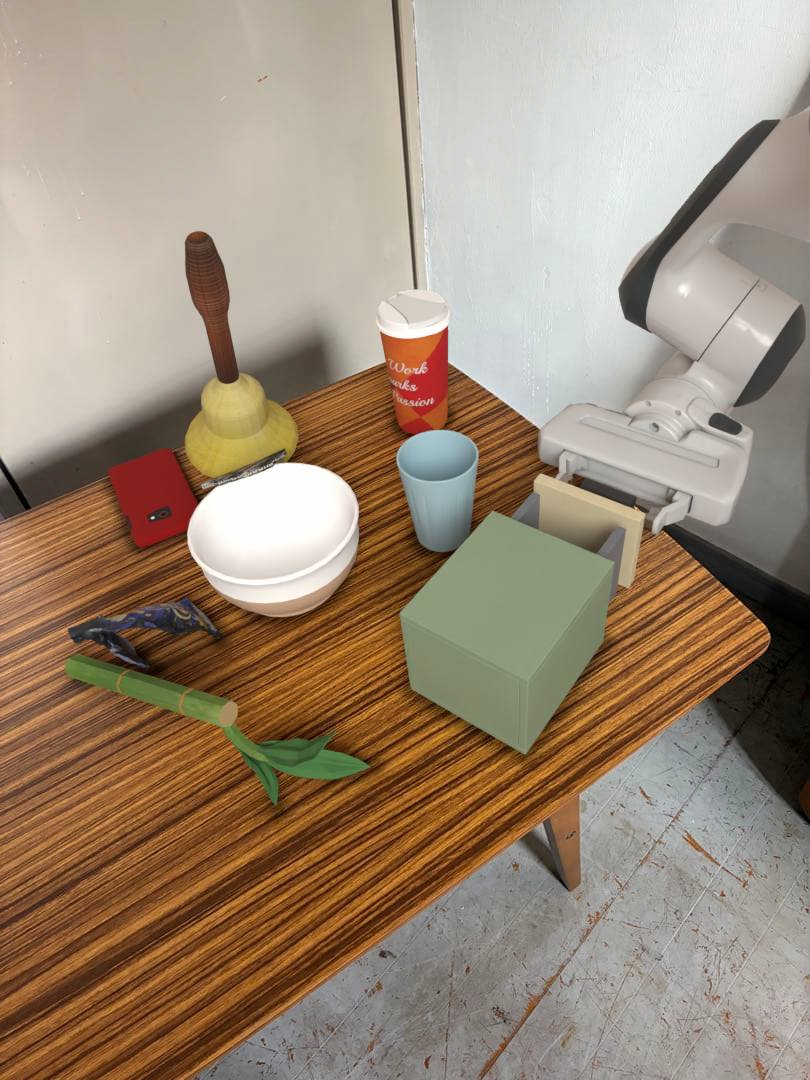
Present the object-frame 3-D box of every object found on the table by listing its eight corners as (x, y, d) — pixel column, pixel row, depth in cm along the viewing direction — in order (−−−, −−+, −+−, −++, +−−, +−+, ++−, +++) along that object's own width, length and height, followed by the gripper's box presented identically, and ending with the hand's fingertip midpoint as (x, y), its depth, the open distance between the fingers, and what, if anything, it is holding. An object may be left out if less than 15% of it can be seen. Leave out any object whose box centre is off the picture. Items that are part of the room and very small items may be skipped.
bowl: (223, 661, 72) (199, 605, 66) (198, 545, 83) (176, 488, 77) (390, 607, 75) (380, 549, 69) (344, 501, 86) (333, 444, 80)
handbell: (196, 494, 82) (133, 298, 61) (175, 411, 88) (112, 207, 68) (311, 466, 84) (288, 268, 64) (283, 386, 91) (254, 183, 70)
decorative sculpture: (303, 441, 93) (225, 472, 93) (301, 437, 92) (223, 468, 93) (276, 465, 73) (178, 505, 74) (274, 460, 73) (176, 500, 74)
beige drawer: (560, 511, 81) (565, 445, 75) (655, 550, 76) (668, 482, 70) (468, 623, 72) (464, 557, 66) (569, 674, 67) (575, 609, 61)
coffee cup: (374, 421, 96) (357, 309, 85) (423, 391, 99) (413, 279, 88) (422, 450, 91) (411, 335, 80) (472, 417, 94) (467, 302, 84)
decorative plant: (97, 623, 74) (364, 695, 58) (130, 689, 78) (387, 771, 63) (44, 666, 69) (317, 755, 54) (82, 733, 74) (345, 833, 58)
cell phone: (105, 467, 92) (108, 474, 93) (134, 544, 83) (137, 551, 83) (169, 444, 94) (172, 451, 95) (205, 516, 85) (207, 523, 85)
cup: (447, 572, 77) (441, 493, 70) (390, 538, 81) (379, 460, 74) (495, 529, 81) (495, 449, 74) (439, 498, 85) (432, 420, 78)
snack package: (100, 616, 77) (219, 591, 78) (109, 682, 76) (230, 656, 76) (46, 599, 65) (187, 570, 66) (56, 677, 64) (199, 646, 65)
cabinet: (493, 589, 75) (492, 510, 68) (603, 641, 70) (615, 561, 63) (410, 689, 68) (399, 613, 61) (525, 755, 63) (528, 681, 56)
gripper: (575, 375, 84) (506, 446, 77) (771, 435, 75) (713, 524, 67) (571, 423, 89) (506, 494, 81) (756, 485, 79) (700, 573, 72)
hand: (602, 508), depth 74 cm, fingers open, 8 cm apart
